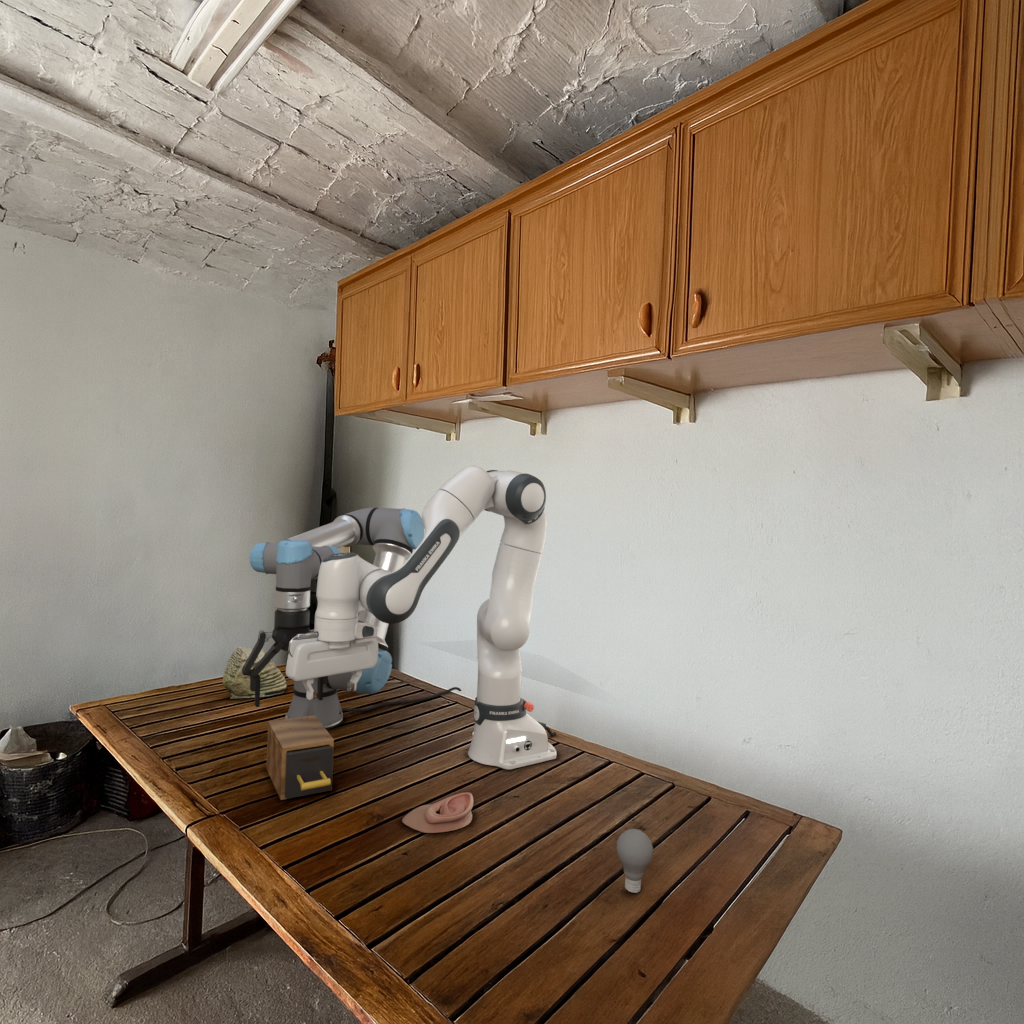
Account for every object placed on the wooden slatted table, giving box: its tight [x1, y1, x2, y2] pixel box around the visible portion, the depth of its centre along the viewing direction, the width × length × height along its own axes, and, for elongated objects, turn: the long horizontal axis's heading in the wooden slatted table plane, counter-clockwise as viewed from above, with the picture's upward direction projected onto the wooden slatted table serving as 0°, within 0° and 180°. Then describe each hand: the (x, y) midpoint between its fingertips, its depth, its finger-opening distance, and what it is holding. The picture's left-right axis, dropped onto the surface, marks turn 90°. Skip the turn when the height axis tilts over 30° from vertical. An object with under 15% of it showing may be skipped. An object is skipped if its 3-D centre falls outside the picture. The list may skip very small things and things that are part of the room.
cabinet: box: [265, 715, 335, 801], centre depth 141 cm, size 17×11×11 cm, turn 31°
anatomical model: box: [401, 791, 474, 834], centre depth 126 cm, size 13×4×12 cm
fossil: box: [222, 646, 288, 699], centre depth 198 cm, size 9×18×15 cm, turn 132°
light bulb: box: [615, 828, 654, 894], centre depth 106 cm, size 6×6×10 cm
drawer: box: [284, 745, 334, 800], centre depth 137 cm, size 21×9×9 cm, turn 31°
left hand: (289, 701), depth 144 cm, fingers open, 13 cm apart
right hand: (331, 694), depth 134 cm, fingers open, 8 cm apart
